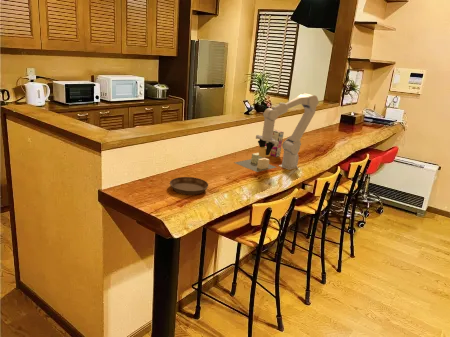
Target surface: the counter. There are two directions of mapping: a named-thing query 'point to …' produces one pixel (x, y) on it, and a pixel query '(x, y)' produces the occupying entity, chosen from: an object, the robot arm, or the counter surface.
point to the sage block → (255, 158)
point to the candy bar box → (277, 148)
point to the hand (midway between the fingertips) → (264, 153)
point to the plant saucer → (188, 185)
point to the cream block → (263, 163)
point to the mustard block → (263, 152)
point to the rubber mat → (252, 165)
